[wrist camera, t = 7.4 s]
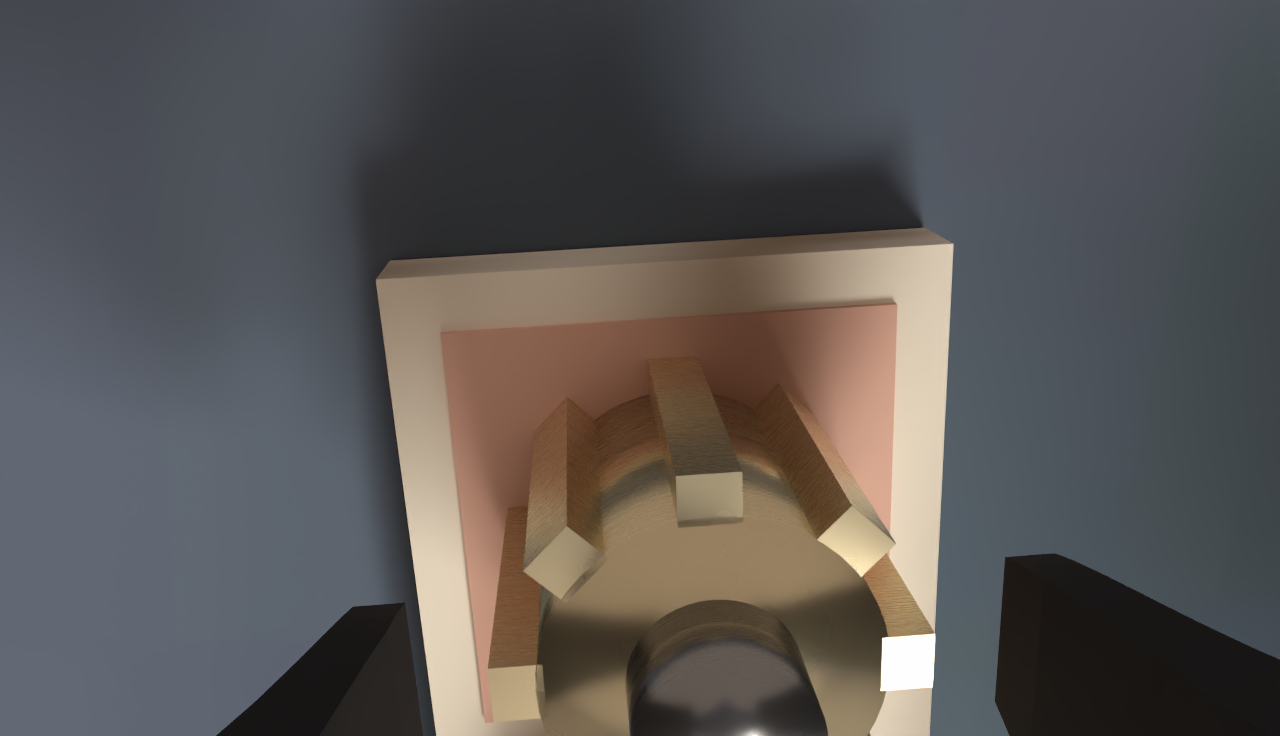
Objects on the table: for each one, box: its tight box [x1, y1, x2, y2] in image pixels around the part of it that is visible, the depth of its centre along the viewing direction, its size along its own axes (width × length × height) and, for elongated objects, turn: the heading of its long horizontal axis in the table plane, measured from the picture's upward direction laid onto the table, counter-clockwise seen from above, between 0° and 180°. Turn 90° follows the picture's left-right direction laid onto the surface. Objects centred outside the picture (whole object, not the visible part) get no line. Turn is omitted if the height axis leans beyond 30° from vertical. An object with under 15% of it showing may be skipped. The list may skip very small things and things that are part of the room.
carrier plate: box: [376, 228, 953, 736], centre depth 17 cm, size 8×13×1 cm, turn 3°
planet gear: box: [488, 356, 935, 736], centre depth 13 cm, size 5×5×5 cm
